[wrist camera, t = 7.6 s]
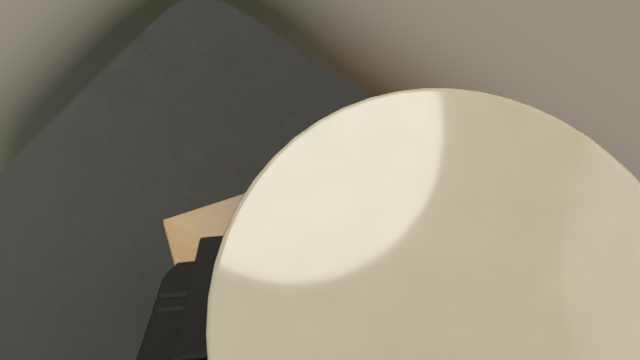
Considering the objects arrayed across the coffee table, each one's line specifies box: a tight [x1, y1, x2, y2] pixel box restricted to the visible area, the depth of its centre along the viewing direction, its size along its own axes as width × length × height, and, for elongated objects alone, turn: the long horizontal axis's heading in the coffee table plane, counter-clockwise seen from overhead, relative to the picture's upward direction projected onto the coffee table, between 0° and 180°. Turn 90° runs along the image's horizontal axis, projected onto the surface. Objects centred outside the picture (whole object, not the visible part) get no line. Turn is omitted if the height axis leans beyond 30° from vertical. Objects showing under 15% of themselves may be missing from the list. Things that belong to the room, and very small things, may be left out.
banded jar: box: [205, 88, 640, 360], centre depth 10 cm, size 6×6×10 cm
